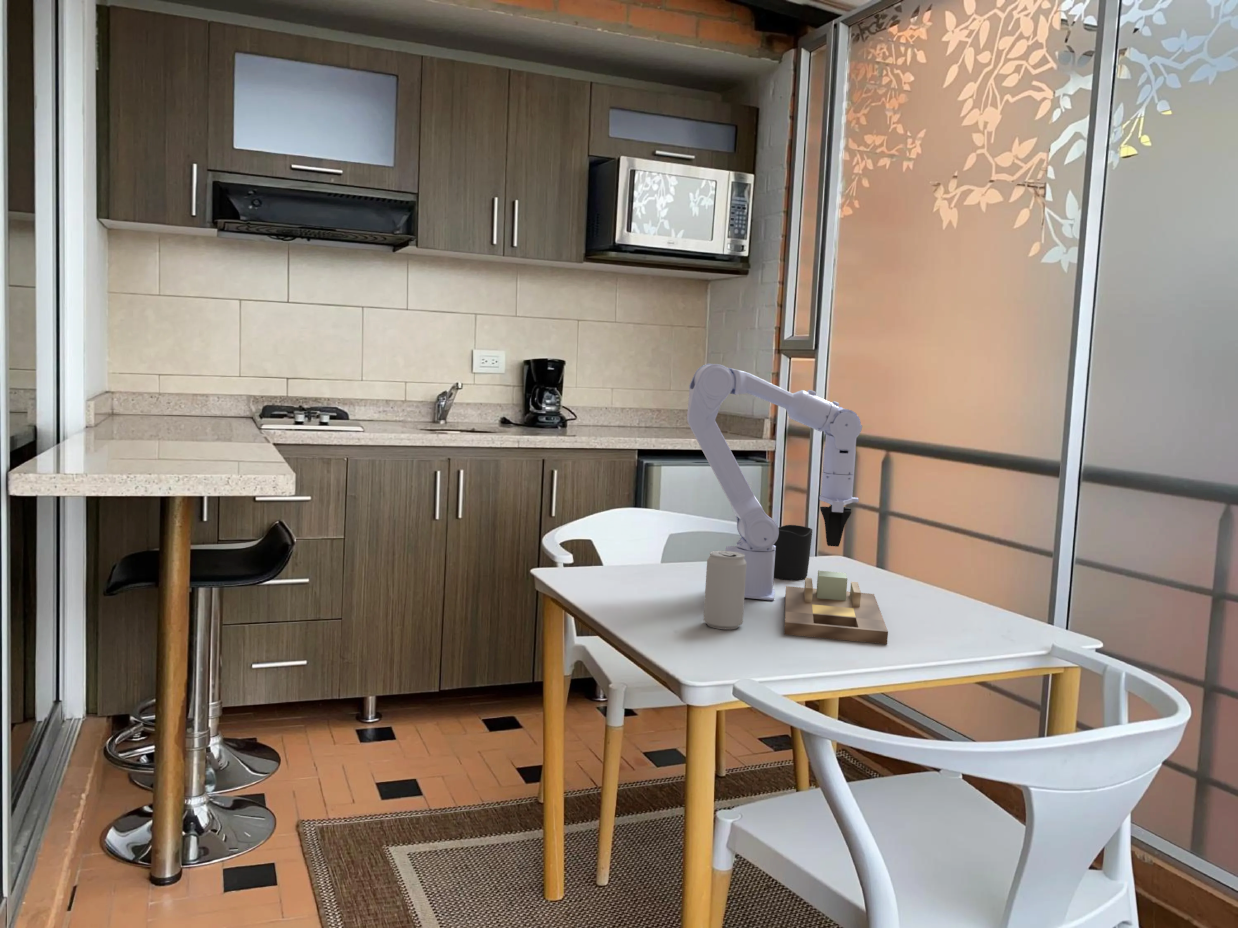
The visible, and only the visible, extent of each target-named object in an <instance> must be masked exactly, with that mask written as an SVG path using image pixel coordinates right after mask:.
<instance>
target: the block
mask: <svg viewBox="0 0 1238 928" xmlns="http://www.w3.org/2000/svg"><path fill="white" fill-rule="evenodd" d="M816 580H817V581H816V589H817V591H816V593H817V598H822V599H833V600H845V601H846V592H847V588H848V575H847V573H846V572H840V571H839V572H837V571H828V570H818V571H817V579H816Z"/></svg>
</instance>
